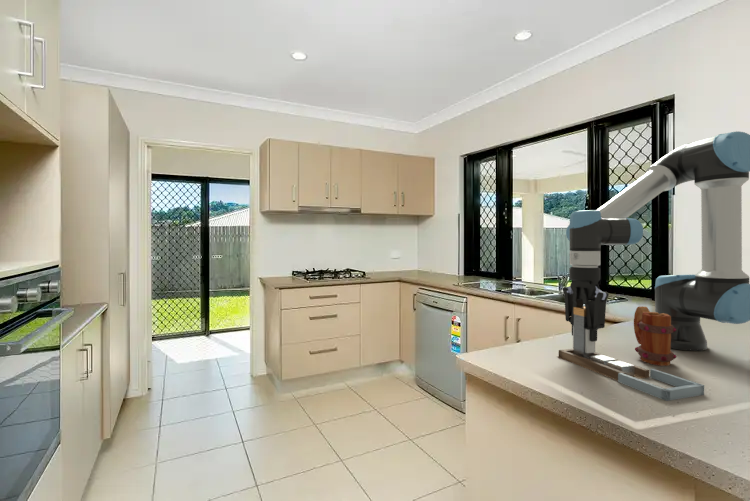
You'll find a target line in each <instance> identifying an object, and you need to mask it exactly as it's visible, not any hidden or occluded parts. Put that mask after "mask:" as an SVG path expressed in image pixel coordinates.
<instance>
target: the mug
mask: <svg viewBox="0 0 750 501" xmlns="http://www.w3.org/2000/svg"><path fill="white" fill-rule="evenodd" d="M633 316H634V317H633V329H634V334H635V338H636V341H637V343H638V345H639V346H636V347H635V348H634V351H635V352H636V353H637V354H638V356H639V358H640V361H641V362H644V363H648V364H650V365H654V366H661V367H663V366H666V367H669V366H670V365H671V362H672V361H674V360H675V359H676V358H677V355H676V354H675V353H674V352H673V351H672V350H671V349H672V348H671V333H673V332H675V331H676V328H674V327H673V325H671V316H670V315H668V314H664V313H661V314H659V313H657V312H655V311H650V309H649V308H648V307H647V306H637V307H636V309H635V311H634V315H633Z"/></svg>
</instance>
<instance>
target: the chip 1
mask: <svg viewBox="0 0 750 501" xmlns="http://www.w3.org/2000/svg"><path fill="white" fill-rule="evenodd" d="M611 357H612V356H609V357H608V355H606V356H605V354H603V355H597V356H591V360H592V361H595V362H597V363H600V364H603V365H606V366H607V362H611V361H616V359H617V358H615V359H614V357H612V358H611Z"/></svg>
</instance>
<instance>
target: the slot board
mask: <svg viewBox="0 0 750 501" xmlns="http://www.w3.org/2000/svg"><path fill="white" fill-rule="evenodd" d="M597 355H605V354H602V353H600V352H596V351H595V352H594V356H597ZM605 356H608V355H605ZM608 357H611V358H614V357H612V356H608ZM556 358H559V359H561V360H564V361H566V362H569V363H571V364H574V365H576V366H579V367H581V368H584V369H586V370H589V371H591V372H595V373H596V374H599V375H602V376H604V377H607V378H609V379H611V380H612V379H613V380H615V381H617V382H618V373H623V374H626V373H625V372H622V371H620V370H617V369H614V368H611V367H608V366H606V365H603V364H600V363H597V362H595V361H592V360H591V359H590V360H589V359H586V358H584V357H581V356H578V355H575V354H574V348H565V349H559V350H558V355H557V356H556ZM614 359H616V361H619V360H620V361H623V362H626V361H624V360H621V359H617V358H614ZM626 363H629V364H632V363H630V362H626ZM632 365H635V368H634V376H632V377H634V378H637V379H640V380H642V379H648V378H650V369H648V368H645V367H641V366H638V365H636V364H632ZM650 379H651V378H650Z"/></svg>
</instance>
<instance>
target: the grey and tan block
mask: <svg viewBox="0 0 750 501" xmlns="http://www.w3.org/2000/svg"><path fill="white" fill-rule="evenodd" d="M586 327H588V324H587V317H586V309H585V305H583V307H574V348H573V349H574V354H575V355H578V356H581V357H584V358H586V359H589V360H590V359H591V356H594V353H585V329H586Z"/></svg>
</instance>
